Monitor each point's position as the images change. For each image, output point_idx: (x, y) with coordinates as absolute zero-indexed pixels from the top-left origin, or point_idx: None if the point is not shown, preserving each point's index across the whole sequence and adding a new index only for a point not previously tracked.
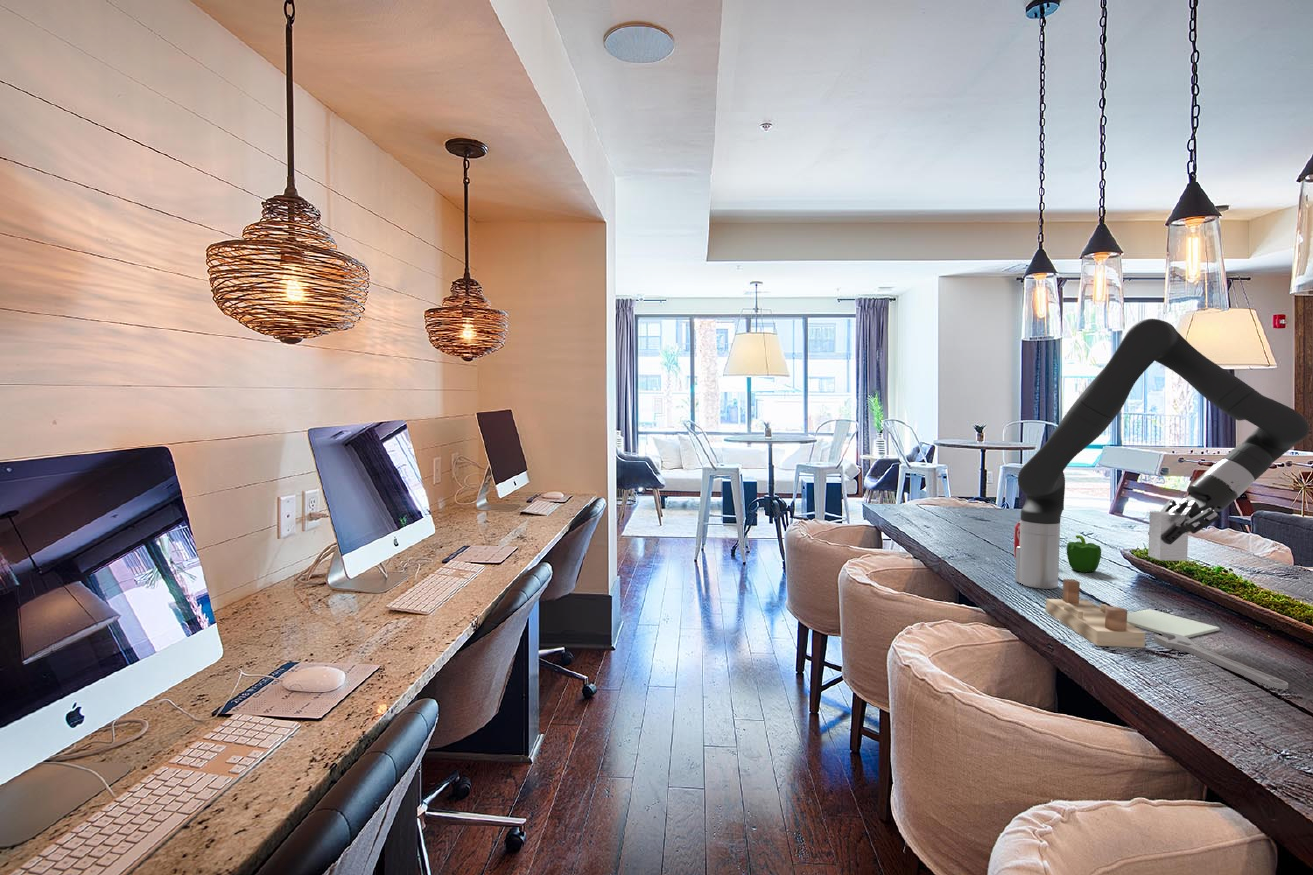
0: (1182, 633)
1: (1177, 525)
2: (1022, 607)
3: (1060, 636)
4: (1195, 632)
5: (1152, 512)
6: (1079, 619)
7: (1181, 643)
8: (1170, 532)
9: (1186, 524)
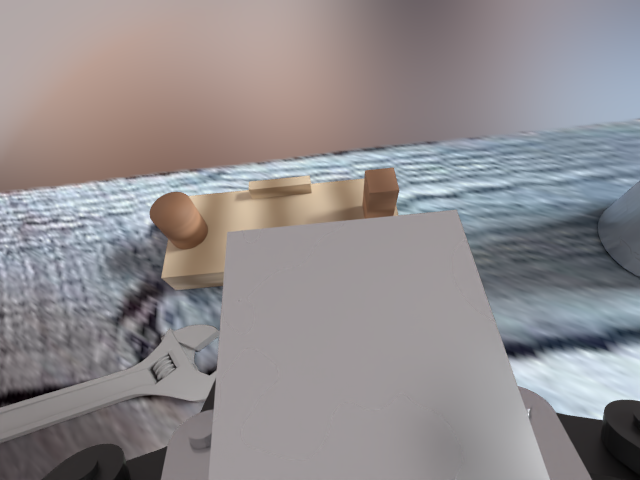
0: None
1: (203, 418)
2: (402, 164)
3: (233, 177)
4: None
5: (399, 216)
6: (245, 191)
7: (160, 362)
8: None
9: (74, 464)
